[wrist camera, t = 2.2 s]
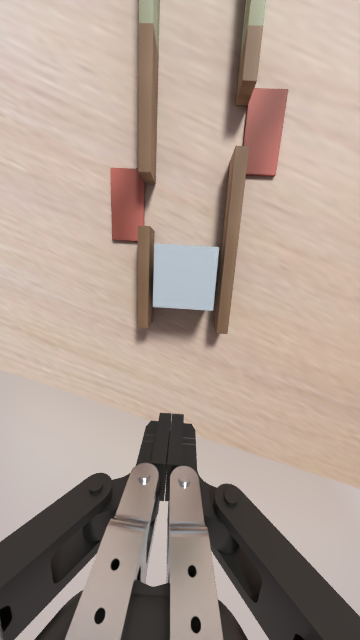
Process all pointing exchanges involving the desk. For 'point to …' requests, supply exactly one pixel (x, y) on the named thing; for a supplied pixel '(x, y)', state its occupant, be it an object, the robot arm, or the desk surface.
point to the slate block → (184, 276)
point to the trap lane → (246, 160)
